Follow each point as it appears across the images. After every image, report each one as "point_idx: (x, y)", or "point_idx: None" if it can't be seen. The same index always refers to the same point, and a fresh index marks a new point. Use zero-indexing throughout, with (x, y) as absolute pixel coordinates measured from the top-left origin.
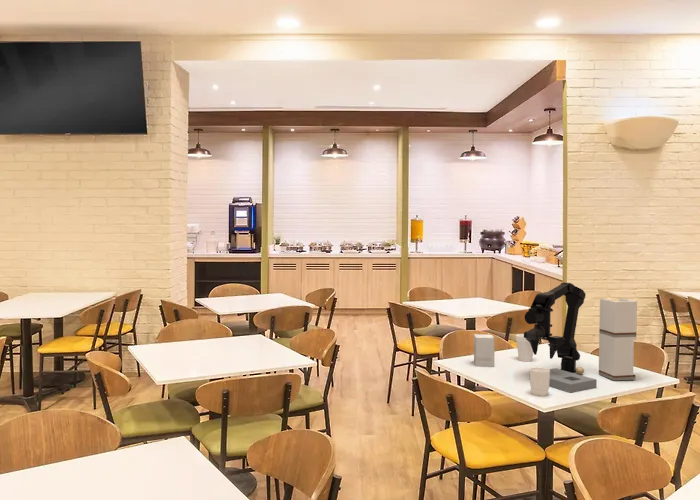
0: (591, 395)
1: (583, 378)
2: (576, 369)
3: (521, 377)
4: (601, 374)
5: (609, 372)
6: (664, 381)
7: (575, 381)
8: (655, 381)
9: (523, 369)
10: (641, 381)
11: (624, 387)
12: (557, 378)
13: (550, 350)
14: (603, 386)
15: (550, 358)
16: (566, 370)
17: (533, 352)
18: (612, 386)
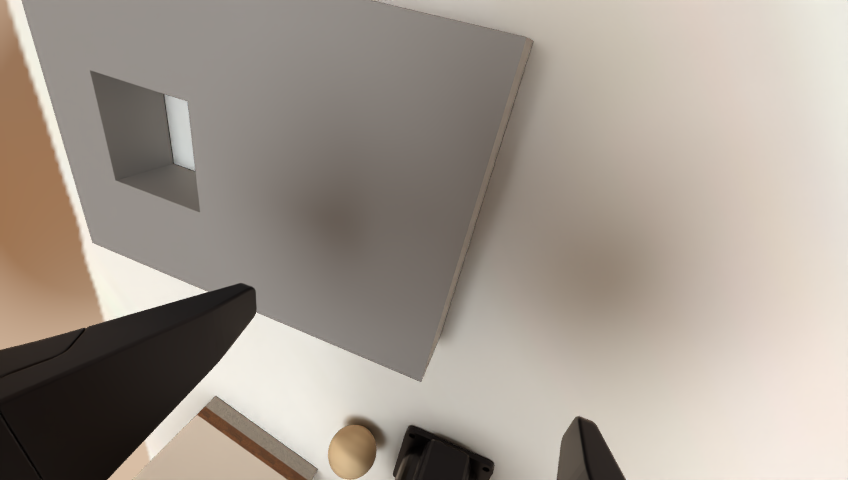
0: (22, 16)
1: (128, 211)
2: (359, 451)
3: (675, 87)
4: (295, 458)
5: (221, 443)
6: (148, 452)
7: (70, 69)
8: (155, 443)
9: (772, 403)
10: (169, 425)
11: (120, 310)
12: (185, 37)
13: (69, 351)
14: (156, 270)
15: (246, 284)
16: (426, 449)
17: (611, 456)
18: (145, 296)
